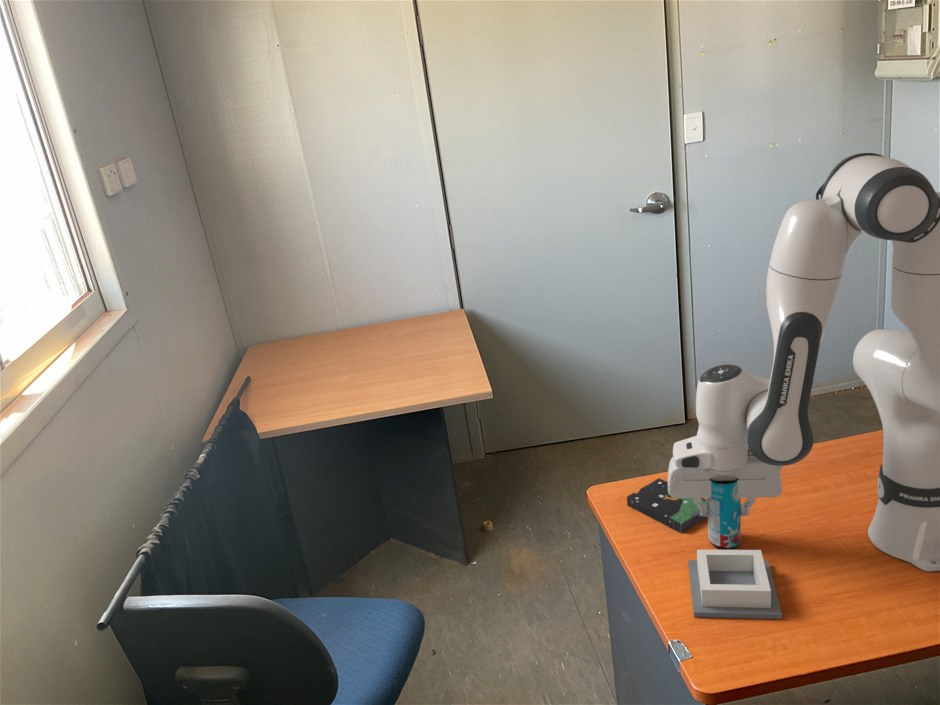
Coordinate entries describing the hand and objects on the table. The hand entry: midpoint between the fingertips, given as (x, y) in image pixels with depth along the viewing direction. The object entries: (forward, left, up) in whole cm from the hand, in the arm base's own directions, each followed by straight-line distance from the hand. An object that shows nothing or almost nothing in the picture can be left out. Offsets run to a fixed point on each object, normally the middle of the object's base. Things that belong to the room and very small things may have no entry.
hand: (723, 514), depth 145 cm
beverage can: (0, 0, -6) cm, 6 cm away
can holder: (0, +14, -6) cm, 15 cm away
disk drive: (+10, -11, -7) cm, 16 cm away
